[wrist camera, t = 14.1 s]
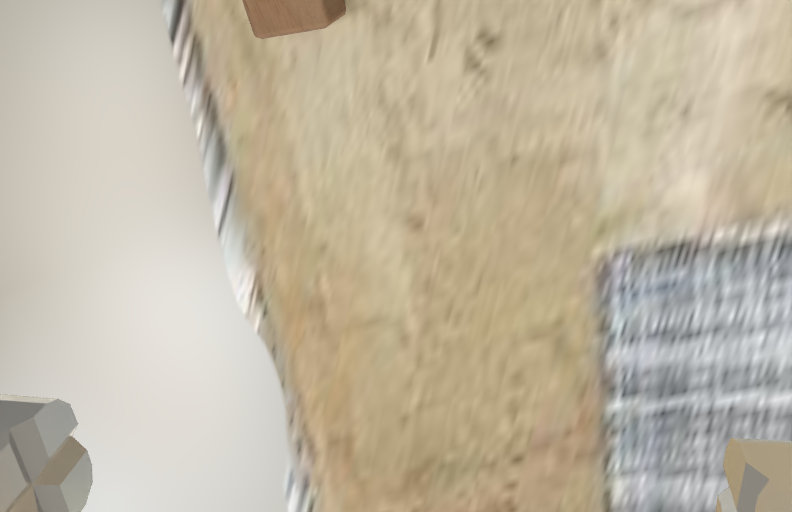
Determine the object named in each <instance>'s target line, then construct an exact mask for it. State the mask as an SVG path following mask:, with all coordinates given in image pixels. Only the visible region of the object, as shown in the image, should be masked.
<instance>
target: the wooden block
mask: <svg viewBox="0 0 792 512" xmlns="http://www.w3.org/2000/svg"><path fill="white" fill-rule="evenodd" d="M243 3H244V6H245V9H246V12H247V15H248V18H249V21H250V24H251V27H252V30H253V33H254V35H255V36H256V37H257V38H261V39H264V38H270V37H276V36H282V35H288V34H294V33H300V32H306V31H312V30H317V29H323V28H326V27H327V26H329V25H330V24H332V23H333V22H334V21H336V20H337V19H339V18H340V17H342V16H343V15H344V14H345V11H346V7H345V2H344V0H243Z"/></svg>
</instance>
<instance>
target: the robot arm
mask: <svg viewBox="0 0 792 512" xmlns="http://www.w3.org/2000/svg"><path fill="white" fill-rule="evenodd" d="M77 425H78V423H77V420H76V418H75V415H74V413H73V410H72V408H71V406H70V404H68V403H66V402H64V401H61V400H59V399H50V398H38V397H26V396H13V395H1V394H0V512H81V510H82V509H83V508H84V506H85V505H86V502H87V499H88V495H89V492H90V489H91V485H92V464H91V461H90V458H89V455H88V452H87V450H86V449H85V448H84V447H83V446H82V445H81V444H80V443H79V442H78V441H77V440H75V439H74V438H73V437H72V436H73V434H74V431H75V429H76V427H77ZM723 467H724V470H725V474H726V477H727V480H728V484H729V487H728V488H727V489H725V490H724V491H723V492H722V493H721V494H719V495H718V499H717V506H716V512H792V441H780V440H761V439H742V438H731V439H730V441H729V443H728V445H727V448H726V452H725V458H724V463H723Z"/></svg>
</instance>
